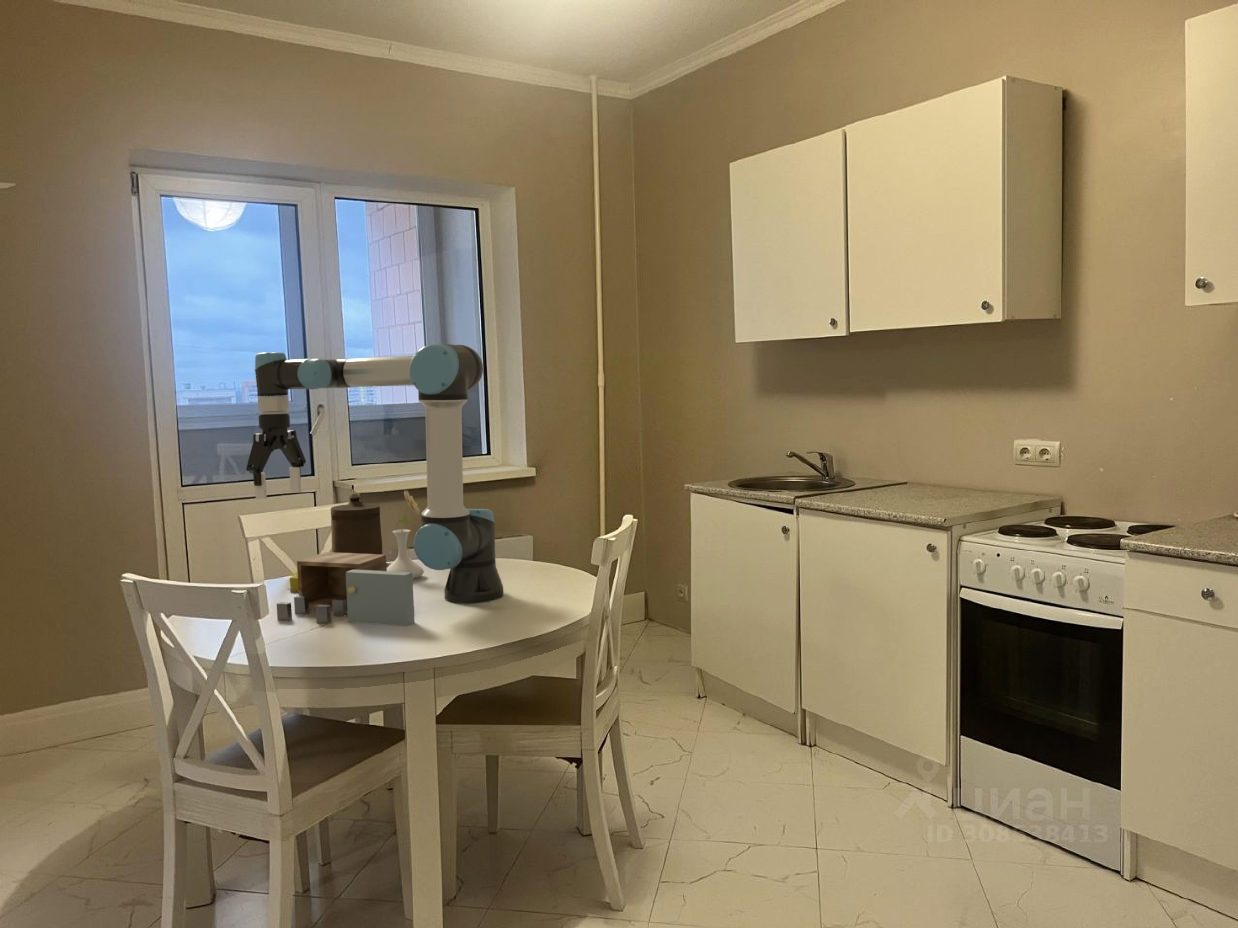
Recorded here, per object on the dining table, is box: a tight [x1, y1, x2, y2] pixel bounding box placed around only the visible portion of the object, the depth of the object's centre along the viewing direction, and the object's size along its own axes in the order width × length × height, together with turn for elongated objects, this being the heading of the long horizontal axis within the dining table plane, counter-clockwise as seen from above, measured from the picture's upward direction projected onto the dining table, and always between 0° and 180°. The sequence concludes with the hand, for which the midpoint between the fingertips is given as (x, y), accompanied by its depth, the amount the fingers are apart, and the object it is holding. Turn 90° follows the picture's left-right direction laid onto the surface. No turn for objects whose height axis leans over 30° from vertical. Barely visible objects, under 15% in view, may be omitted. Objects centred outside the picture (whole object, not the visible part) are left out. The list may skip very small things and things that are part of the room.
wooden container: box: [330, 493, 384, 555], centre depth 287 cm, size 15×15×22 cm
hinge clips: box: [276, 595, 348, 624], centre depth 225 cm, size 14×8×4 cm, turn 72°
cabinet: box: [296, 551, 387, 612], centre depth 237 cm, size 18×12×12 cm, turn 72°
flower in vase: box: [387, 490, 425, 579], centre depth 266 cm, size 13×11×25 cm
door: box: [346, 570, 416, 627], centre depth 218 cm, size 16×4×12 cm, turn 72°
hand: (279, 495), depth 242 cm, fingers open, 13 cm apart
